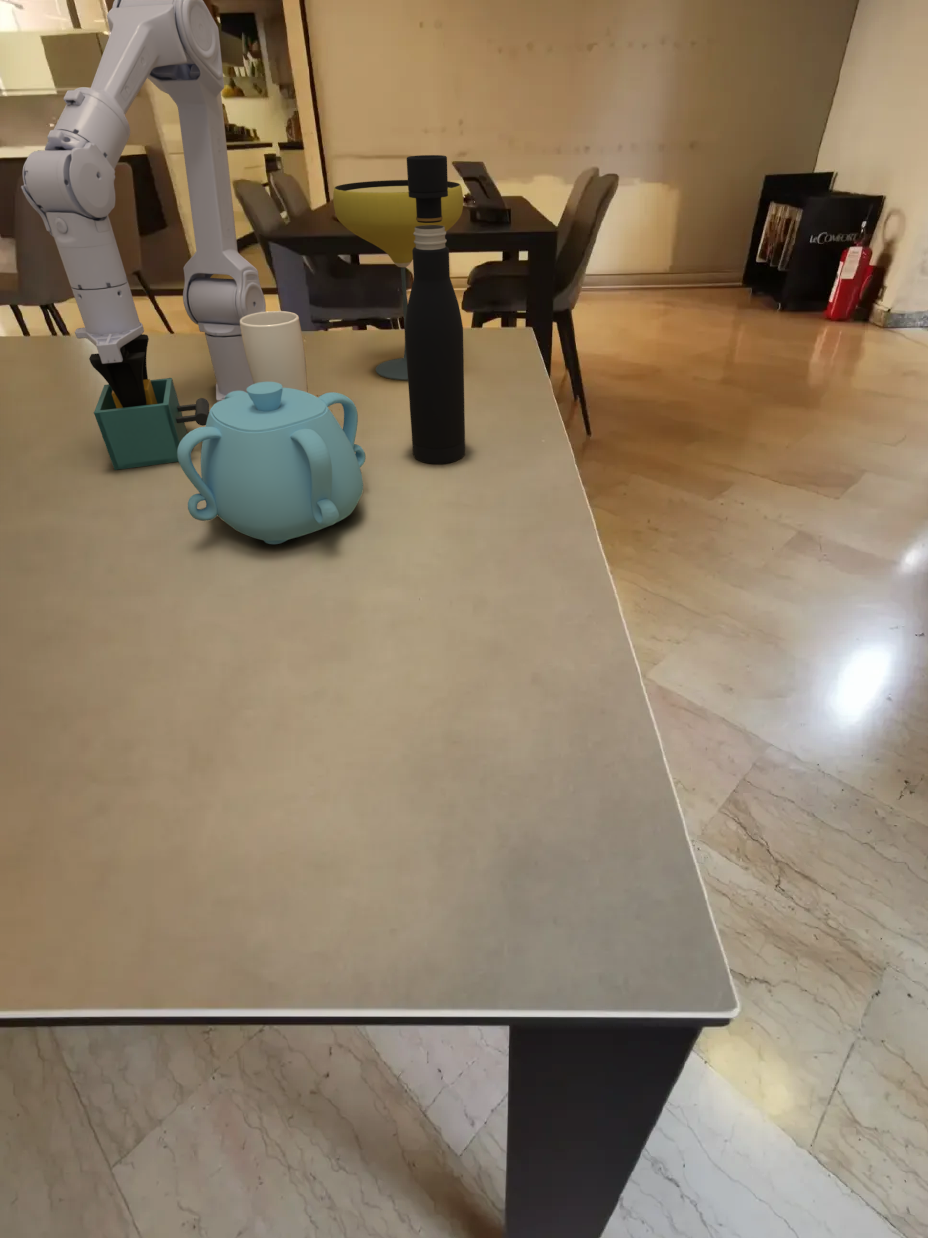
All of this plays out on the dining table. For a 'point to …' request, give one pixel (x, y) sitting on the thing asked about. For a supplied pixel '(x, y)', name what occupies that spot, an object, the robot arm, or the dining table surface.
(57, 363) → the dining table surface
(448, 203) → the cocktail glass
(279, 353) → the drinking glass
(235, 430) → the decorative pot
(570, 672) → the dining table surface
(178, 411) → the teal bevelled box
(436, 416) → the black bottle
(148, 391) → the block
